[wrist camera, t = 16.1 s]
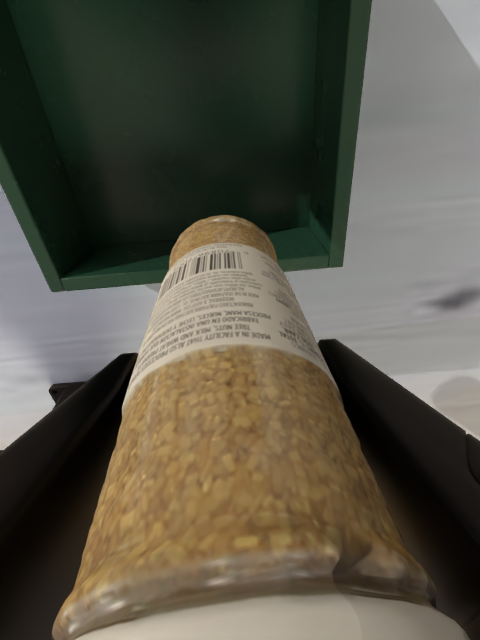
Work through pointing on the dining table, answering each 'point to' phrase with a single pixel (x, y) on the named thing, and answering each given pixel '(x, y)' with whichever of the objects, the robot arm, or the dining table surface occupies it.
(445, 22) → the dining table surface
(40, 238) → the caddy
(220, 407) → the sprinkles bottle
